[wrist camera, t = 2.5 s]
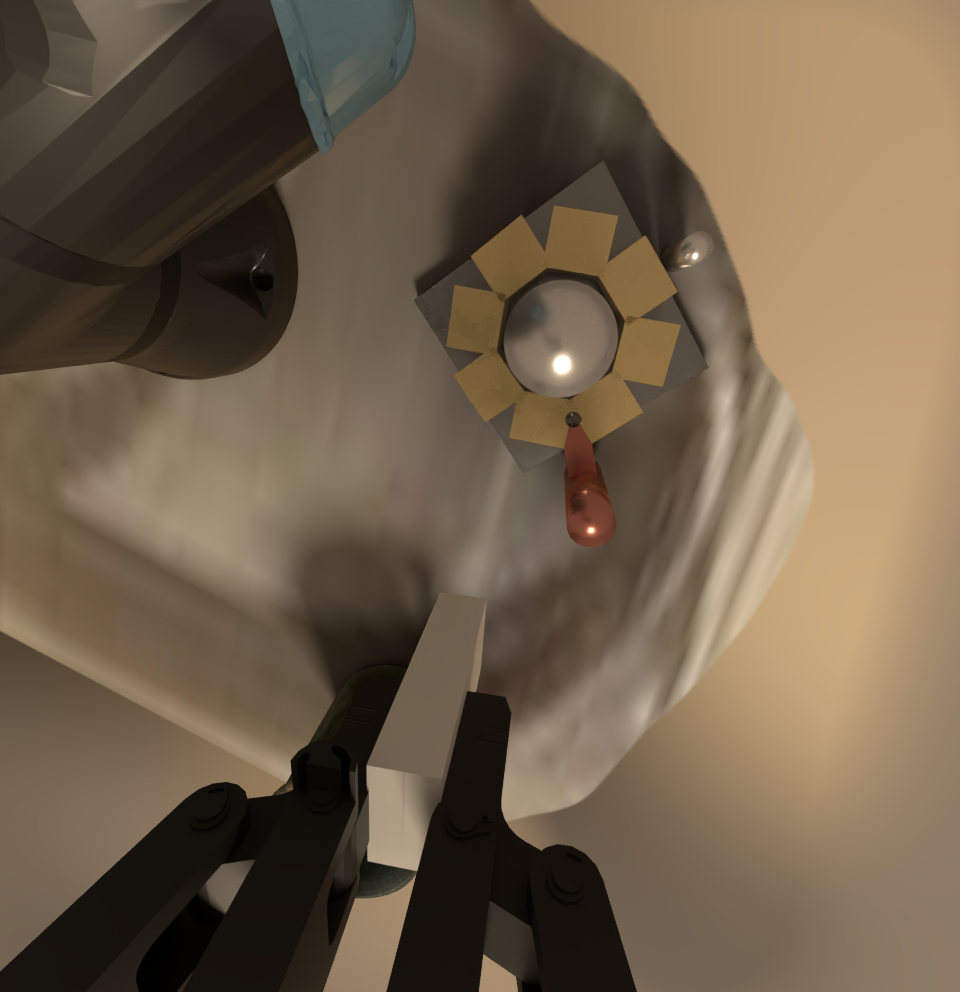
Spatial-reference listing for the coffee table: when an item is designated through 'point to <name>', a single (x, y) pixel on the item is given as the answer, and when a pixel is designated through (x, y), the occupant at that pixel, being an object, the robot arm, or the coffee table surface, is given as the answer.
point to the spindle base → (539, 224)
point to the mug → (372, 874)
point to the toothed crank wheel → (606, 405)
